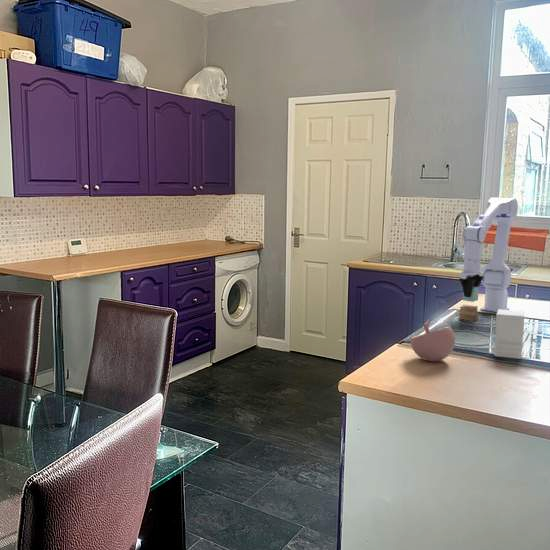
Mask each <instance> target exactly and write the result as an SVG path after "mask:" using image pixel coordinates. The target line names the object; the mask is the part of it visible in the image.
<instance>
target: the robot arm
mask: <svg viewBox="0 0 550 550" xmlns="http://www.w3.org/2000/svg"><path fill="white" fill-rule="evenodd" d="M486 204H487V206H486V207H487V208H486V210H485V211H484V214H479V216H478V217H477V218H476V219H475V220H474V221H473V222H472V224H471V225H467V226H466V227H464V229H463V232H462V240H463V246H464V259H463V270H462V272H460V273H459V278H458V279H459V281H460V284H461V286H462V291H463V292H464V297H471V294H472V288H473V286H476V287H480V285H481V284H482V285H483V287H484V288H485V291H484V306H483V307H480V308H479V309H480V310H481V311H487V312H495V313H497V312H498V309H501V310H510V307H508V300H509V299H508V297H509V294H508V290H507V289H508V288H509V287H510V285H511V281H512V276H511V275H512V270H511V268H510V267H509V266H508V265H507V264H506V257H507V251H508V247H509V246H508V245H509V239H510V232H511V227H512V223H513V222H514V221H516V220H517V219H516V218H517V215H518V209H519V203H518V200H517V198H515V197H493V196H492V197H490V198H489V199H488V201H487V203H486ZM493 220H494V221H496V222H497V226H496V232H495V238H494V239H495V240H494V244H493V250H492V257H491V262H489V263H487V264H486V265H485V266H484V268H483V269H481V266H482V265H481V263H482V249H483V246H482V245H483V242H484V241H485V239H486V236H487V232H488V230H490V228H491V227H492V225H493ZM463 292H462V293H463Z"/></svg>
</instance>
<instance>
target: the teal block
mask: <svg viewBox="0 0 550 550" xmlns="http://www.w3.org/2000/svg"><path fill="white" fill-rule="evenodd" d="M479 287H480V286H479ZM479 287H476V286H473V288H472V294H471V297H464V292H462V301H466V302H471V303H474V302H477V301H479V289H480V288H479Z"/></svg>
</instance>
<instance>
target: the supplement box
mask: <svg viewBox="0 0 550 550" xmlns="http://www.w3.org/2000/svg"><path fill="white" fill-rule="evenodd" d="M495 317H496V318H495V319H496V320H495V337H494V340H495V341H494V357H500V358H509V359H517V360H522V355H523V342H524V326H525V311H524V310H511V309H508V310H501V309H498V312H496V314H495Z"/></svg>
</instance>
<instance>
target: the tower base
mask: <svg viewBox="0 0 550 550" xmlns="http://www.w3.org/2000/svg"><path fill="white" fill-rule="evenodd" d="M458 315H459V316H458V319H459V320H462V319H465V320H464V321H467V320H470V321H469V322H474V321H476V320H475V319H477V320H479V313H478V312H477V313H476V314H475V315H468V314H460V312H459V313H458ZM473 320H474V321H473Z"/></svg>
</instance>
